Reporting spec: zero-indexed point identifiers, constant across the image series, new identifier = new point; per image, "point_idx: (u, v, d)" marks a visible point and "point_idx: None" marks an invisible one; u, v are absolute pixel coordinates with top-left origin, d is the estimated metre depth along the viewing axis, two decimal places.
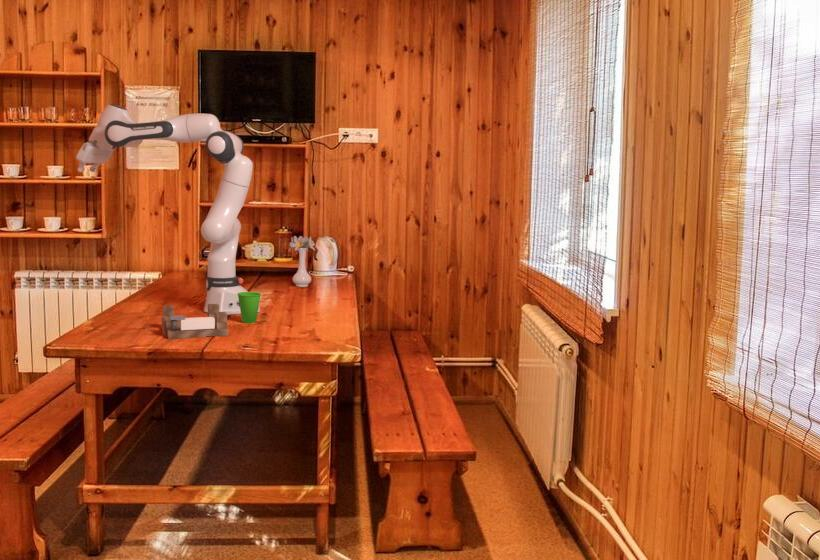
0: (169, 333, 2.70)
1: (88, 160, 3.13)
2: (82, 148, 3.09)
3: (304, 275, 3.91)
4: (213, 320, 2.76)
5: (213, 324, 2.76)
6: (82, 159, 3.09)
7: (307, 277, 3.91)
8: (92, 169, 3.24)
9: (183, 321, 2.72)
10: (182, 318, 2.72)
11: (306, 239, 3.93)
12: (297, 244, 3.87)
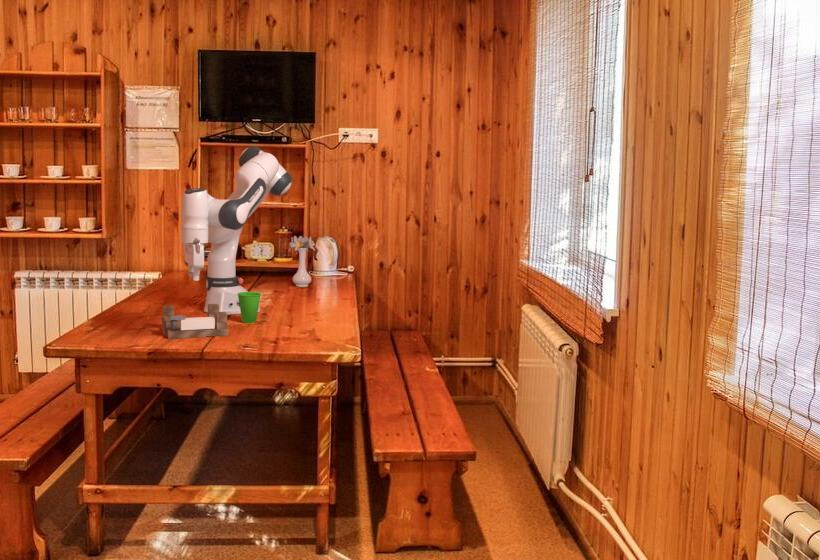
0: (169, 333, 2.70)
1: None
2: (195, 252, 2.56)
3: (304, 275, 3.91)
4: (213, 320, 2.76)
5: (213, 324, 2.76)
6: (202, 263, 2.57)
7: (307, 277, 3.91)
8: (193, 274, 2.70)
9: (183, 321, 2.72)
10: (182, 318, 2.72)
11: (306, 239, 3.93)
12: (297, 244, 3.87)
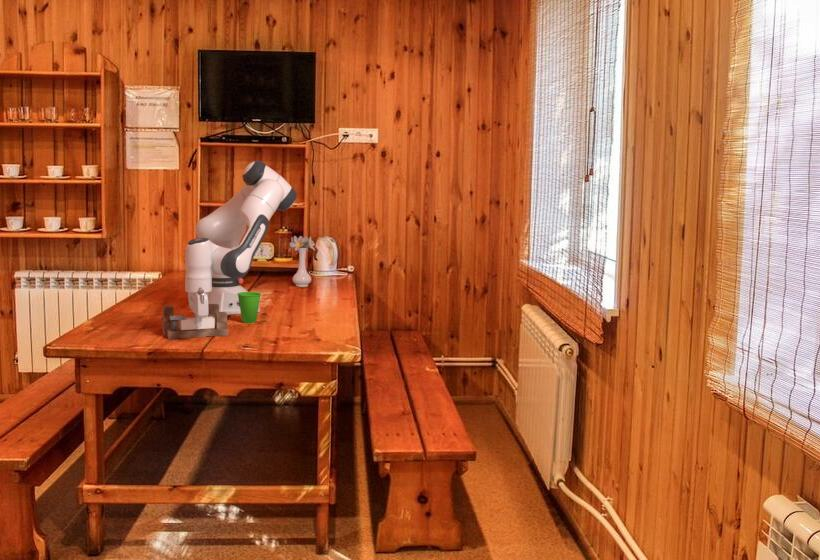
0: (169, 333, 2.70)
1: None
2: (200, 302, 2.63)
3: (304, 275, 3.91)
4: (213, 320, 2.76)
5: (213, 324, 2.76)
6: (206, 313, 2.64)
7: (307, 277, 3.91)
8: None
9: (183, 320, 2.72)
10: (182, 318, 2.72)
11: (306, 239, 3.93)
12: (297, 244, 3.87)
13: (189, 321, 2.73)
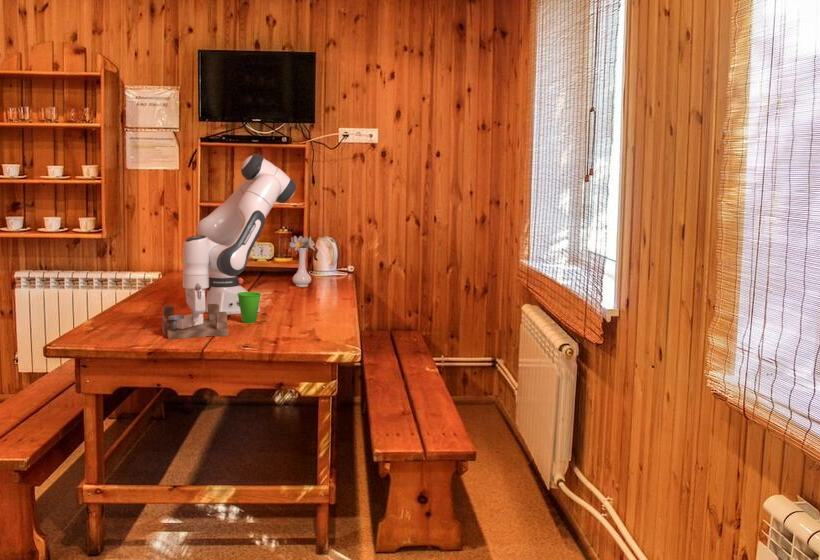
0: (169, 333, 2.70)
1: None
2: (197, 298, 2.68)
3: (304, 275, 3.91)
4: (202, 315, 2.83)
5: (202, 319, 2.84)
6: (203, 309, 2.69)
7: (307, 277, 3.91)
8: None
9: (183, 319, 2.74)
10: (182, 317, 2.74)
11: (306, 239, 3.93)
12: (297, 244, 3.87)
13: (187, 319, 2.76)
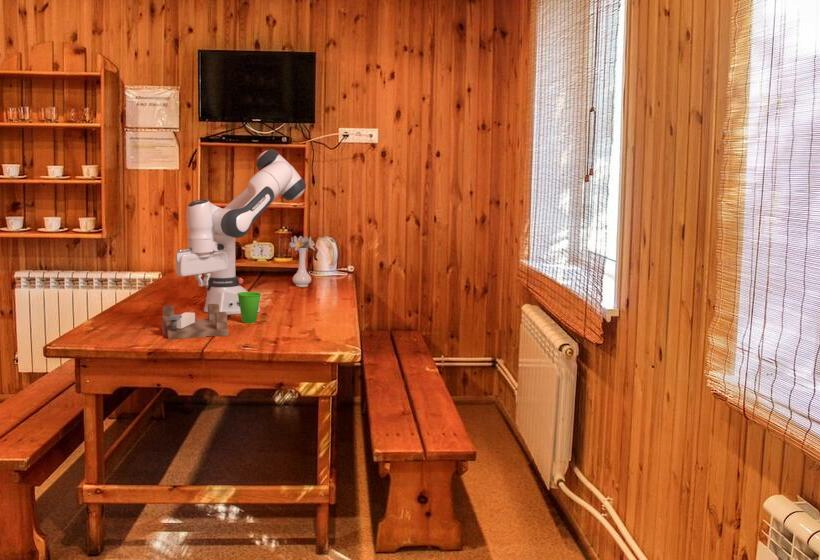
0: (169, 333, 2.70)
1: (189, 271, 2.74)
2: (176, 261, 2.72)
3: (304, 275, 3.91)
4: (194, 314, 2.85)
5: (194, 318, 2.85)
6: (180, 272, 2.71)
7: (307, 277, 3.91)
8: None
9: (182, 319, 2.75)
10: (180, 316, 2.75)
11: (306, 239, 3.93)
12: (297, 244, 3.87)
13: (184, 318, 2.77)
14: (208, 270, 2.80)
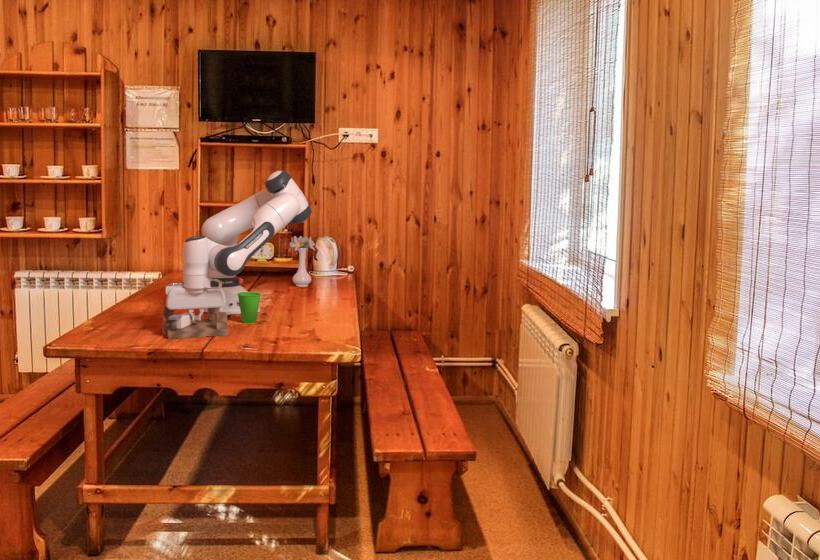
0: (169, 333, 2.70)
1: (177, 305, 2.77)
2: None
3: (304, 275, 3.91)
4: (194, 314, 2.85)
5: None
6: (167, 305, 2.76)
7: (307, 277, 3.91)
8: None
9: (182, 319, 2.75)
10: (180, 316, 2.75)
11: (306, 239, 3.93)
12: (297, 244, 3.87)
13: (184, 318, 2.77)
14: (200, 306, 2.80)
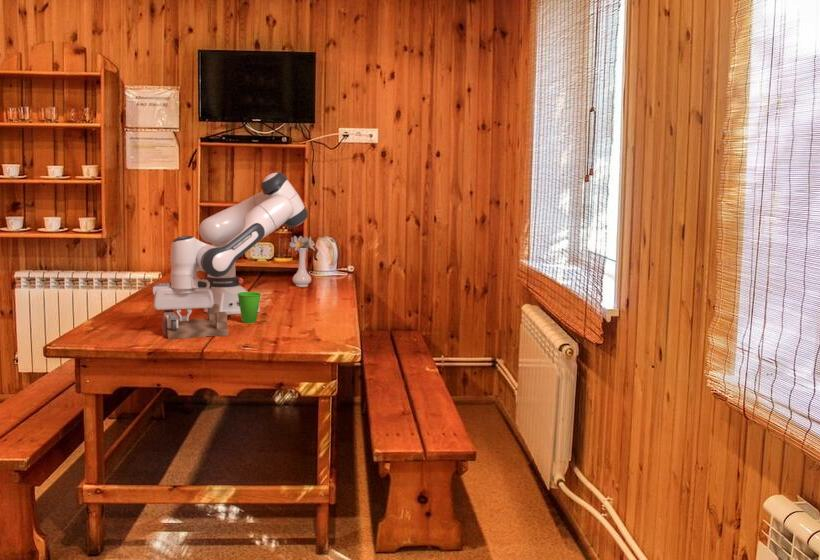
0: (169, 333, 2.70)
1: (165, 306, 2.76)
2: None
3: (304, 275, 3.91)
4: None
5: None
6: (154, 305, 2.75)
7: (307, 277, 3.91)
8: None
9: None
10: None
11: (306, 239, 3.93)
12: (297, 244, 3.87)
13: None
14: (188, 306, 2.79)
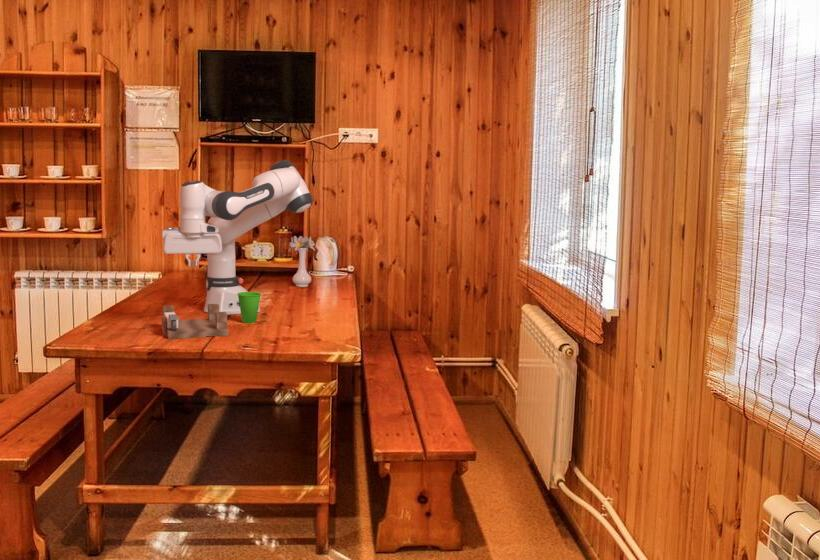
0: (169, 333, 2.70)
1: (174, 250, 2.78)
2: None
3: (304, 275, 3.91)
4: None
5: None
6: (163, 249, 2.77)
7: (307, 277, 3.91)
8: None
9: None
10: None
11: (306, 239, 3.93)
12: (297, 244, 3.87)
13: None
14: (197, 251, 2.81)
